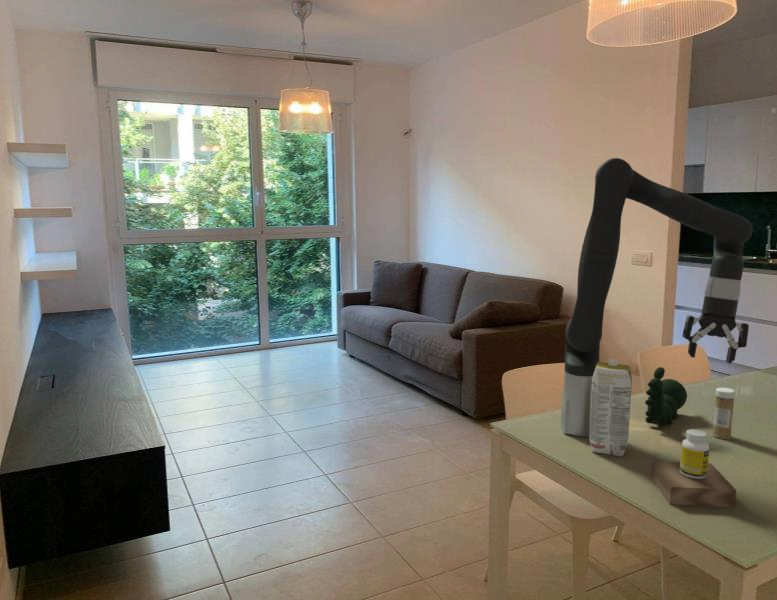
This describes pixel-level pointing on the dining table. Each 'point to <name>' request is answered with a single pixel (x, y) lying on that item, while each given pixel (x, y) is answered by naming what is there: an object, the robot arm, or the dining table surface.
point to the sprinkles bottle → (723, 413)
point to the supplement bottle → (694, 455)
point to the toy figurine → (664, 399)
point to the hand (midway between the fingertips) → (710, 359)
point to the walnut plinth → (692, 486)
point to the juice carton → (610, 408)
